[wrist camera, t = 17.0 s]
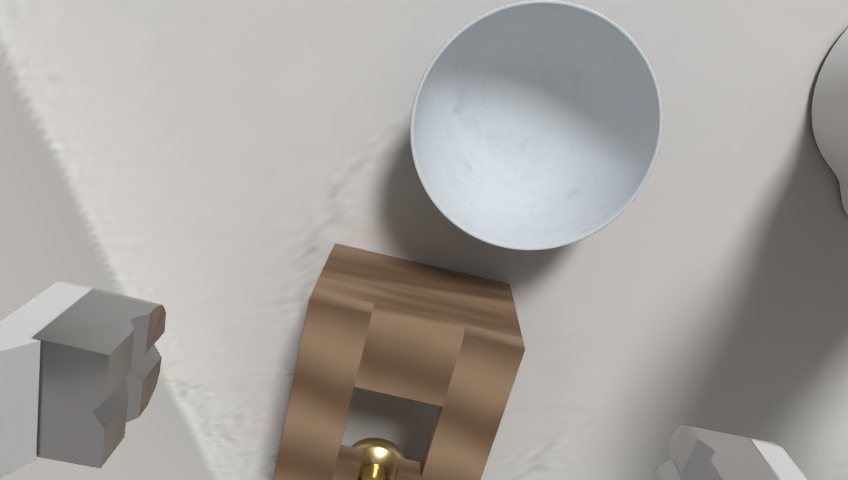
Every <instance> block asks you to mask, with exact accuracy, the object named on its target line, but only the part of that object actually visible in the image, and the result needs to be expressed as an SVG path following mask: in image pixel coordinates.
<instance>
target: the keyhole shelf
mask: <svg viewBox="0 0 848 480" xmlns="http://www.w3.org/2000/svg"><path fill="white" fill-rule="evenodd" d="M524 351H525V348H524V343H523V339H522V335H521V331H520V326H519V322H518V318H517V314H516V309H515V305H514V301H513V296H512V292H511V288H510V285H509V284H505V283H501V282H496V281H492V280H488V279H484V278H479V277H475V276H471V275H467V274H462V273H458V272H454V271H450V270H446V269H441V268H437V267H433V266H429V265H424V264H420V263H416V262H412V261H407V260H403V259H399V258H395V257H391V256H386V255H382V254H378V253H374V252H369V251H365V250H361V249H357V248H352V247H348V246H344V245H340V244H336V243H335V245H334V247H333V249H332V251H331V253H330V256H329V258H328V260H327V262H326V264H325V266H324V269H323V271H322V273H321V275H320V277H319V280H318V282H317V284H316V286H315V288H314V290H313V293H312V295H311V297H310V299H309V303H308V308H307V313H306V318H305V323H304V328H303V333H302V338H301V344H300V349H299V354H298V359H297V364H296V369H295V374H294V379H293V384H292V389H291V394H290V399H289V404H288V409H287V414H286V419H285V424H284V429H283V434H282V439H281V445H280V450H279V455H278V460H277V465H276V470H275V475H274V480H357V478H358V474H359V470H360V467H361V462H362V457H363V451H364V450H362V449H358V448H353V447H349V446H344V445H341V440H342V436H343V432H344V428H345V424H346V420H347V415H348V411H349V407H350V403H351V399H352V394H353V390H354V387H357V388H362V389H366V390H371V391H375V392H380V393H384V394H389V395H393V396H398V397H402V398H406V399H411V400H415V401H420V402H424V403H429V404H433V405H438V406H439V408H438V411H437V415H436V418H435V421H434V425H433V428H432V432H431V435H430V438H429V442H428V445H427V448H426V452H425V455H424V458H423V462H417V461H413V460H408V459H404V458H399V460H398V463H397V467H396V471H395V474H394V478H393V480H480V479H481V476H482V473H483V471H484V468H485V465H486V462H487V459H488V456H489V453H490V450H491V447H492V444H493V441H494V438H495V436H496V433H497V430H498V427H499V424H500V421H501V418H502V415H503V412H504V409H505V406H506V403H507V401H508V398H509V395H510V392H511V389H512V386H513V383H514V380H515V377H516V374H517V371H518V368H519V366H520V363H521V360H522V357H523V354H524Z"/></svg>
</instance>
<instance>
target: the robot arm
mask: <svg viewBox="0 0 848 480" xmlns="http://www.w3.org/2000/svg"><path fill="white" fill-rule="evenodd" d="M812 126H813V132H814V137H815V140H816V143H817V146H818V148H819V150H820V152H821V154H822V156H823V158H824V159H825V161H826V162H827V163H828V165H829V166H830V168H831V169H832V170H833V172H834V173H835V175H836V176H837V178H838V180H839V183H840V192H841V199H842V204H843V207H844V210H845V212H846V214H847V215H848V28H847V29H846V31H845V32H844V33H843V34H842V35H841V37H840V38H839V39H838V41H837V42H836V43H835V45H834V46H833V48H832V50H831V51H830V53H829V55H828V56H827V58H826V60H825V62H824V64H823V66H822V69H821V71H820V73H819V76H818V79H817V82H816V86H815V90H814V95H813V101H812ZM165 317H166V312H165V309H164V307H163V305H161V304H157V303H153V302H149V301H144V300H140V299H136V298H132V297H128V296H124V295H120V294H116V293H112V292H108V291H104V290H100V289H96V288H94V287H89V286H84V285H80V284H75V283H70V282H62V281H58V282H56V283H54V284H53V285H52V286H50V287H49V288H47V289H46V290H44V291H43V292H41V293H40V294H39V295H38V296H36V297H35V298H33V299H32V300H30V301H29V302H27V303H26V304H24V305H23V306H22V307H20V308H19V309H17V310H16V311H14V312H13V313H12V314H10V315H9V316H7V317H6V318H5V319H3V320H2V321H1V322H0V478H2V477H4V476H6V475H8V474H10V473H12V472H14V471H15V470H17V469H19V468H21V467H23V466H25V465H27V464H29V463H31V462H33V461H35V460H36V457H41V458H47V459H53V460H58V461H64V462H69V463H74V464H80V465H86V466H91V467H96V468H101V467H102V466H103V464H104V463H105V462H106V460H107V459H108V458H109V456H110V455H111V454H112V453H113V451H114V450H115V449H116V447H117V446H118V445H119V443H120V442H121V441H122V439H123V438H124V434H125V425H126V422H129V421H131V420H133V419H136V418H138V417H139V416H140V415H141V413H142V412H143V411H144V409H145V408H146V406H147V405H148V403H149V400H150V399H151V396H152V394H153V392H154V390H155V387H156V384H157V380H158V376H159V372H160V365H161V356H160V354H159V352H158V350H157V349H156V347H155V345H154V343H155V342H156V341H157V340H158V339H159V338H160V336H161V335H162V334H163V333H164V330H165ZM667 447H668V450H669V454H670V457H671V459H670V460H668V461H666V462H665V463H663V464H662V465H660V466H659V467H657V468H656V470H655V473H654V475H653V478H652V480H807V479H806V477H805V476H804V475H803V474H802V472H801V471H800V470H799V468H798V467H797V466H796V465H795V463H794V462H793V461H792V459H791V458H790V457H789V456H788V454H787V453H786V452H785V450H784V449H783V448H782V447H780V446H779V445H777V444H775V443H773V442H769V441H763V440H758V439H752V438H747V437H742V436H737V435H732V434H727V433H722V432H717V431H712V430H707V429H702V428H697V427H692V426H687V425H680V426H679V427H678V428H677V429H676V430H675V431H674V432H673V434H672V436H671V438H670V440H669V442H668V444H667Z"/></svg>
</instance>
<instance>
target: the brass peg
mask: <svg viewBox="0 0 848 480" xmlns="http://www.w3.org/2000/svg"><path fill="white" fill-rule="evenodd" d="M352 447H353V448H358V449H362V450H364V451H363V457H362V462H361V467H360V470H359V474H358V478H357V480H393V478H394V474H395V471H396V467H397V463H398V460H399V458H404V459H405V457H404V454H403V452H402V451H401V450H400V448H399V447H398V446H396V445H395V444H394V443H392V442H390V441H388V440H385V439H381V438H367V439H363V440H360V441H358V442H357V443H355V444H354V445H353V446H352Z"/></svg>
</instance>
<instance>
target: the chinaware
mask: <svg viewBox="0 0 848 480" xmlns="http://www.w3.org/2000/svg"><path fill="white" fill-rule="evenodd" d="M662 125H663V111H662V101H661V95H660V90H659V86H658V83H657V80H656V77H655V74H654V72H653V69H652V67H651V65H650V63H649V61H648V60H647V58H646V56H645V54H644V53H643V51H642V50H641V49H640V47H639V46H638V45H637V43H636V42H635V41H634V40H633V39H632V37H631V36H630V35H629V34H628V33H627V32H625V31H624V30H623V29H622V28H621V27H620V26H619V25H617V24H616V23H615V22H613V21H612V20H610V19H609V18H607V17H605V16H604V15H602V14H600V13H598V12H596V11H594V10H592V9H589V8H587V7H584V6H581V5H578V4H574V3H570V2H565V1H558V0H529V1H522V2H516V3H512V4H508V5H505V6H502V7H499V8H496V9H494V10H491V11H489V12H487V13H485V14H483V15H481V16H479V17H477V18H476V19H474V20H473V21H471V22H469V23H468V24H467V25H465V26H464V27H462V28H461V29H460V30H459V31H458V32H456V33H455V34H454V35H453V36H452V37H451V38H450V39H449V40H448V41H447V42H446V43H445V44H444V45H443V46H442V48H441V49H440V50H439V51H438V53H437V54H436V55H435V57H434V58H433V59H432V61H431V63H430V64H429V66H428V68H427V69H426V71H425V73H424V75H423V77H422V79H421V82H420V84H419V87H418V89H417V92H416V95H415V99H414V103H413V107H412V113H411V122H410V141H411V150H412V156H413V160H414V164H415V168H416V171H417V174H418V176H419V179H420V181H421V183H422V185H423V187H424V189H425V191H426V193H427V194H428V196H429V197H430V199H431V200H432V202H433V203H434V204H435V206H436V207H437V208H438V209H439V211H440V212H441V213H442V214H443V215H444V216H445V217H446V218H447V219H448V220H449V221H451V222H452V223H453V224H454V225H455V226H457V227H458V228H460V229H461V230H462V231H464V232H466V233H467V234H469V235H471V236H473V237H475V238H477V239H479V240H481V241H483V242H486V243H489V244H492V245H495V246H499V247H503V248H508V249H515V250H544V249H551V248H557V247H561V246H565V245H568V244H571V243H574V242H577V241H579V240H581V239H584V238H586V237H588V236H590V235H592V234H594V233H595V232H597V231H599V230H600V229H602V228H603V227H605V226H606V225H608V224H609V223H610V222H612V221H613V220H614V219H615V218H616V217H618V216H619V215H620V214H621V213H622V212H623V211H624V210H625V209H626V208H627V207H628V206H629V204H630V203H631V202H632V201H633V200H634V198H635V197H636V196H637V195H638V193H639V192H640V190H641V189H642V187H643V186H644V184H645V182H646V180H647V178H648V177H649V175H650V172H651V170H652V168H653V166H654V163H655V160H656V157H657V154H658V150H659V146H660V142H661V135H662Z"/></svg>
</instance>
